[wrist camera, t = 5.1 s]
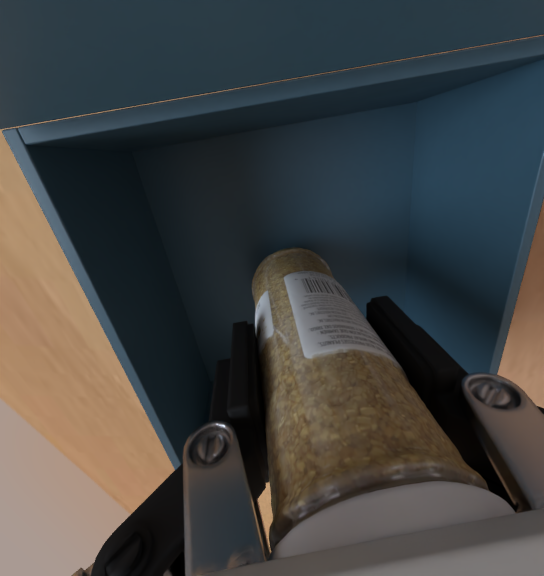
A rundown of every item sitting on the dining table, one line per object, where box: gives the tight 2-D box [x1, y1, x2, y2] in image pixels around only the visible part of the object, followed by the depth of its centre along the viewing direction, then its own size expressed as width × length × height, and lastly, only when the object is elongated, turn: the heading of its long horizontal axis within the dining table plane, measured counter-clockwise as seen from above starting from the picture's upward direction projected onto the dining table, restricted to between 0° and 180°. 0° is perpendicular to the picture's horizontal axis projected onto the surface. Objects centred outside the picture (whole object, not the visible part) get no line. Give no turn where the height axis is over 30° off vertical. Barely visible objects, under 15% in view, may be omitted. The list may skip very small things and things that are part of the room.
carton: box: [2, 36, 544, 475], centre depth 14 cm, size 16×15×7 cm
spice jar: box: [252, 247, 516, 561], centre depth 9 cm, size 5×5×14 cm
